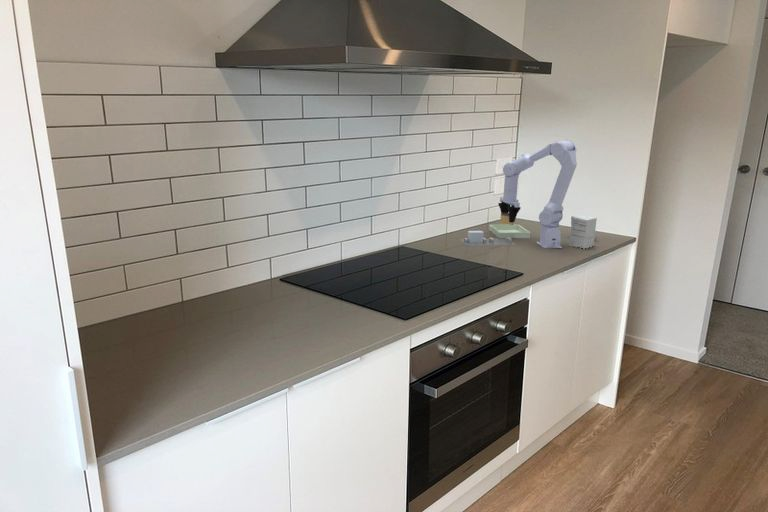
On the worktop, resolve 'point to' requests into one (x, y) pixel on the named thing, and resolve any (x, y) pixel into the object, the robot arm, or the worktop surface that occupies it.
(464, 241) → the fuse board
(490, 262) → the worktop surface
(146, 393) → the worktop surface
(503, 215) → the block
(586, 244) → the supplement box
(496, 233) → the parts tray
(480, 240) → the fuse
